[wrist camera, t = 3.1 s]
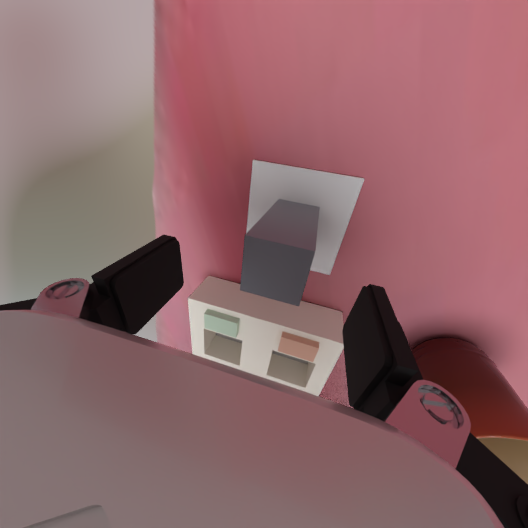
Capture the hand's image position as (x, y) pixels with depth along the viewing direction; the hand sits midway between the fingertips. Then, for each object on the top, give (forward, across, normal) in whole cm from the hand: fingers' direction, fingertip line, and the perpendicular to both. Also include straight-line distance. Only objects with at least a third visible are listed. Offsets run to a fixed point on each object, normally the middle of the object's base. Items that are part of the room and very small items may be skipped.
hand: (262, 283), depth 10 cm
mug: (+12, -19, +14) cm, 27 cm away
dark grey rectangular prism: (+12, 0, +1) cm, 12 cm away
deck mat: (+13, 0, +1) cm, 13 cm away
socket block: (+12, +1, +18) cm, 22 cm away
